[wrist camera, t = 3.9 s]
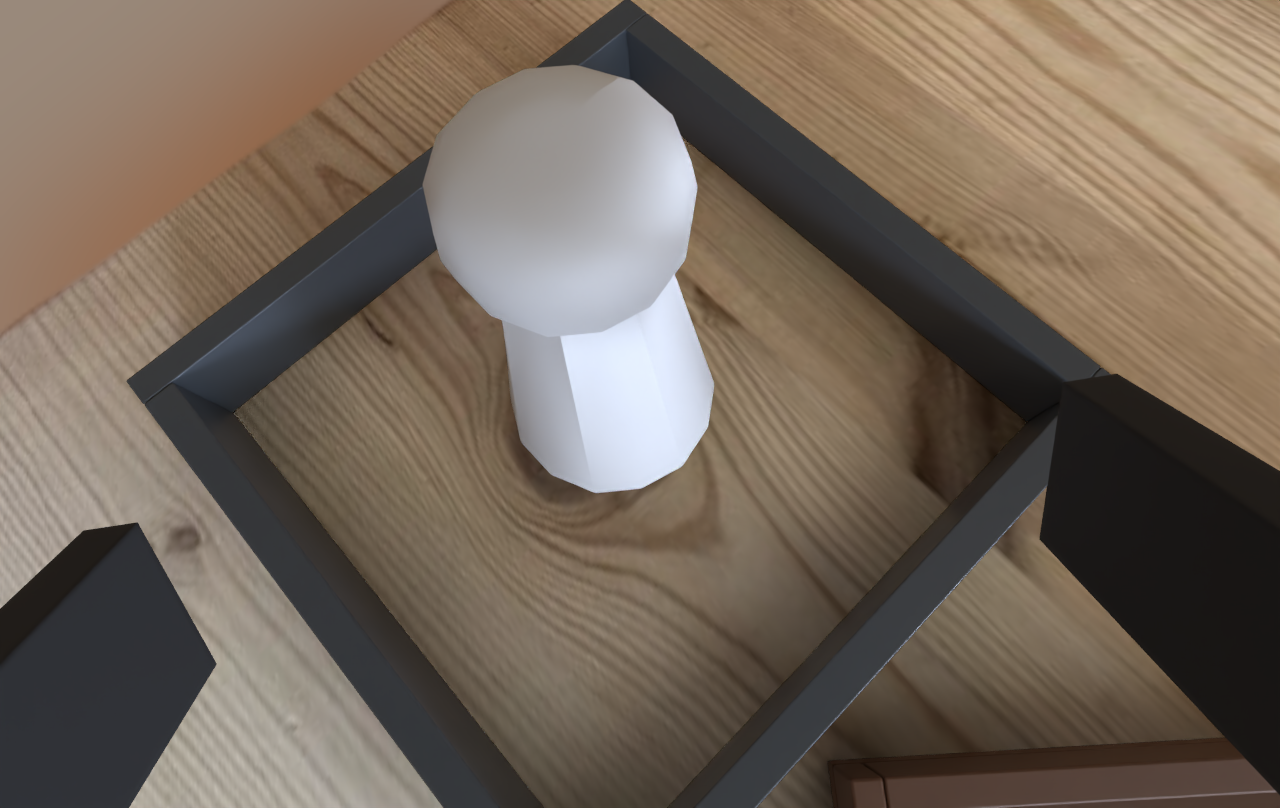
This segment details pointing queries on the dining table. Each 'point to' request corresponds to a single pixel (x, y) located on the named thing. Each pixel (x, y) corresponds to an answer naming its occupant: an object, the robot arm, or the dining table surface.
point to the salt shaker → (579, 267)
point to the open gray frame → (402, 237)
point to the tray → (1059, 778)
